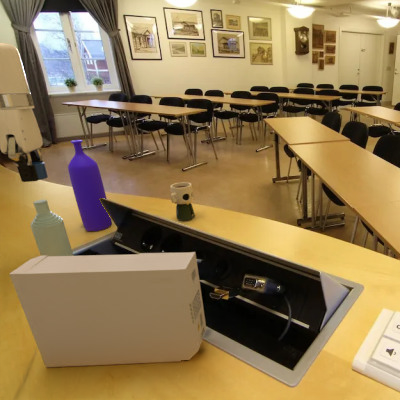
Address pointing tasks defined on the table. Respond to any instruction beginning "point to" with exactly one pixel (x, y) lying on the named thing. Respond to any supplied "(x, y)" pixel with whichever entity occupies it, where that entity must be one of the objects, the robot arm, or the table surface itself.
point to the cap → (40, 170)
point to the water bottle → (50, 231)
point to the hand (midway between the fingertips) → (34, 177)
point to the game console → (112, 307)
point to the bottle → (88, 190)
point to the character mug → (183, 200)
